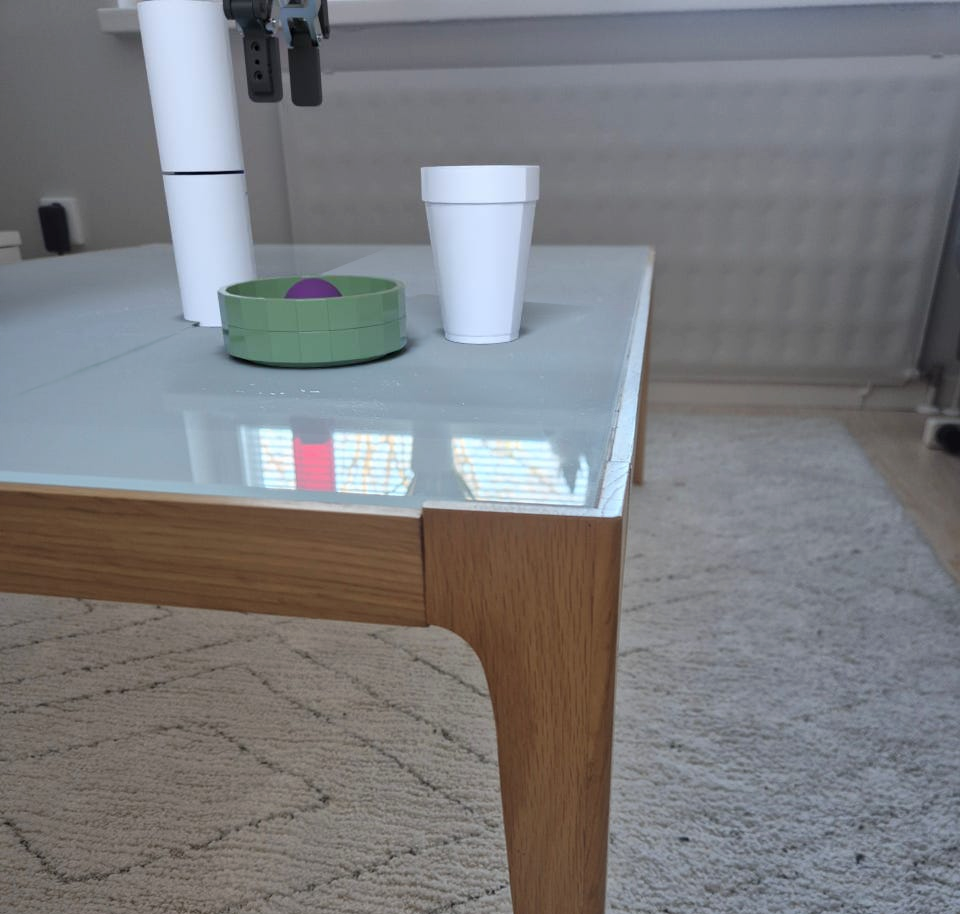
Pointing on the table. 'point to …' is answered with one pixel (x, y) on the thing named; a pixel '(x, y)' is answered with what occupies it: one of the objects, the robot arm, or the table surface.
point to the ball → (312, 289)
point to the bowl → (313, 321)
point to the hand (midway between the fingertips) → (288, 104)
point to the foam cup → (481, 246)
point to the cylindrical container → (199, 149)
